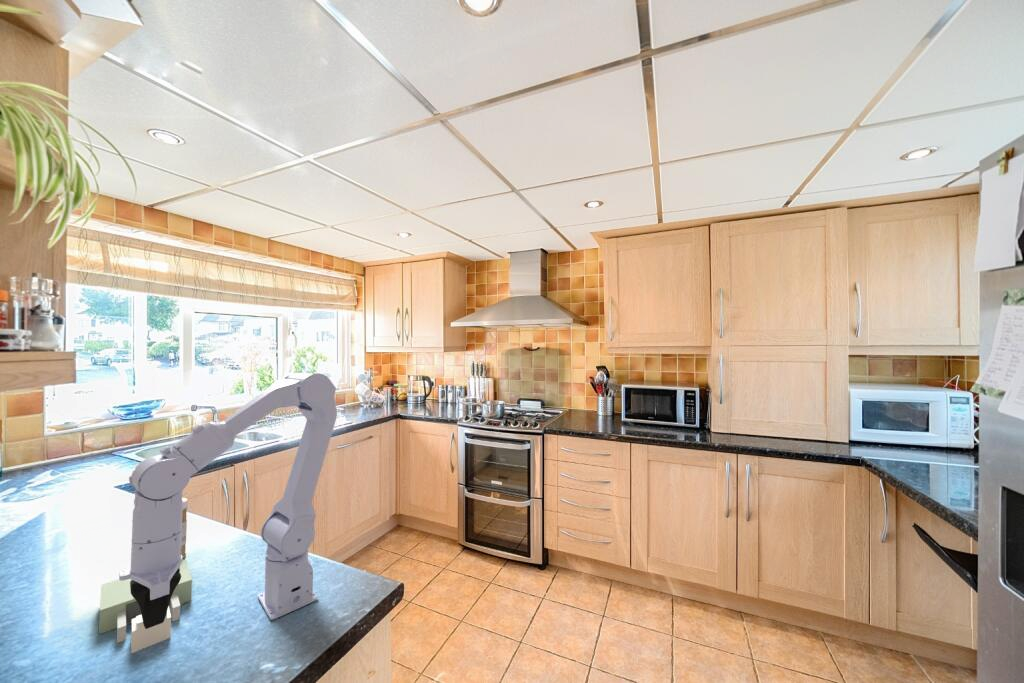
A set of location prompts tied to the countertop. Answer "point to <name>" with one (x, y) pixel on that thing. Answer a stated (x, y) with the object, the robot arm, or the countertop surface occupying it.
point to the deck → (136, 603)
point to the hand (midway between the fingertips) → (154, 623)
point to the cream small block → (149, 632)
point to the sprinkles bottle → (184, 526)
